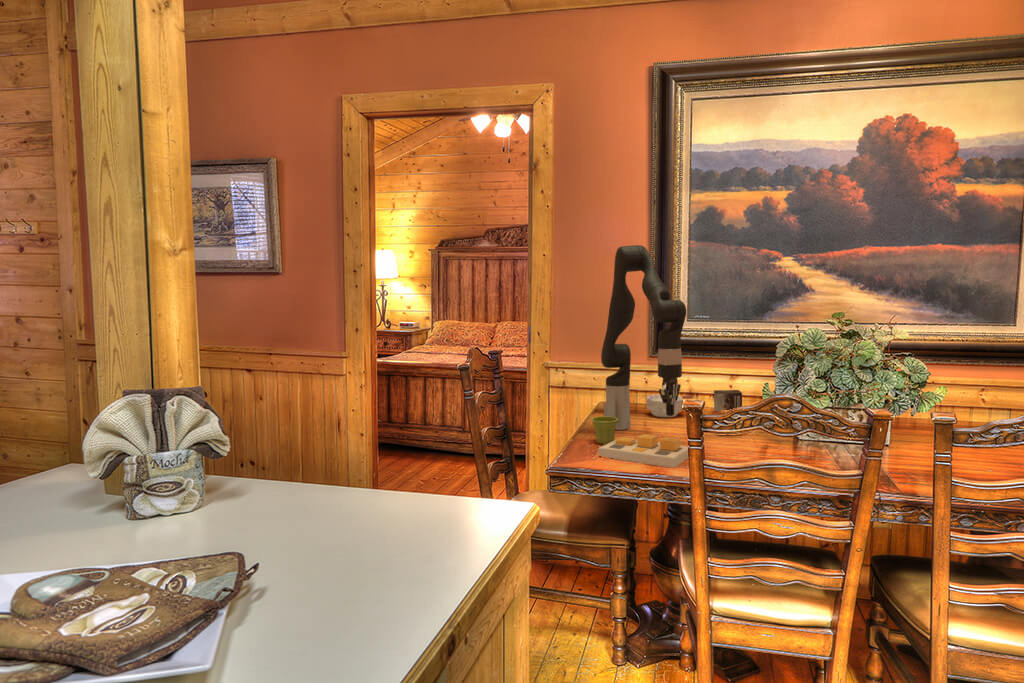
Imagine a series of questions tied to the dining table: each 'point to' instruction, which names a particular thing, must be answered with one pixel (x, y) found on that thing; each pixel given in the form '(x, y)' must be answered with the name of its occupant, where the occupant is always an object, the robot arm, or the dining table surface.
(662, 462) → the button board
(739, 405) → the coffee box
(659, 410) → the light grey bowl
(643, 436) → the button middle
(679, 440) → the button right
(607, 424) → the plant pot
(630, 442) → the button left
